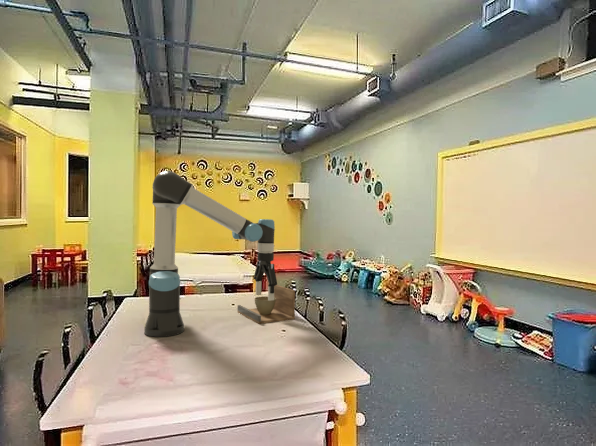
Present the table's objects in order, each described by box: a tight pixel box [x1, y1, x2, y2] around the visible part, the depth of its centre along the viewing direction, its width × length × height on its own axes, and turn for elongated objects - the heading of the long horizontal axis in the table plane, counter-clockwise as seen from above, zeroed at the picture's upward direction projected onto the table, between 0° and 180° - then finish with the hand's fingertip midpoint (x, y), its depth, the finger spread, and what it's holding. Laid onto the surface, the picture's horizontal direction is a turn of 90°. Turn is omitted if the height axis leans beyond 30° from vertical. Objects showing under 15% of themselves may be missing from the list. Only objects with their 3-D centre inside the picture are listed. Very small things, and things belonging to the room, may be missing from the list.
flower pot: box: [254, 295, 276, 315], centre depth 194 cm, size 10×10×7 cm
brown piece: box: [237, 284, 296, 325], centre depth 193 cm, size 18×24×13 cm
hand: (264, 297), depth 193 cm, fingers open, 13 cm apart
